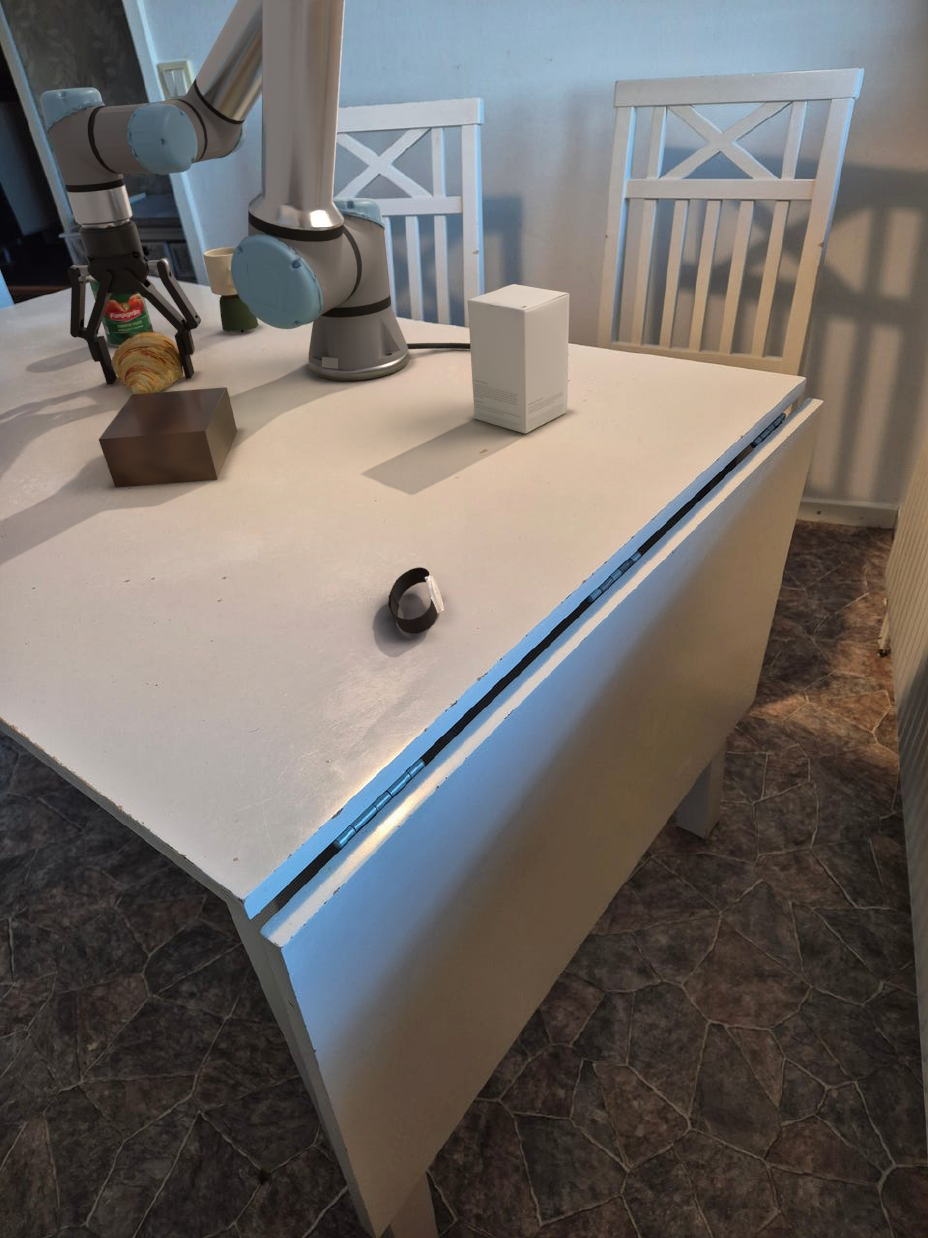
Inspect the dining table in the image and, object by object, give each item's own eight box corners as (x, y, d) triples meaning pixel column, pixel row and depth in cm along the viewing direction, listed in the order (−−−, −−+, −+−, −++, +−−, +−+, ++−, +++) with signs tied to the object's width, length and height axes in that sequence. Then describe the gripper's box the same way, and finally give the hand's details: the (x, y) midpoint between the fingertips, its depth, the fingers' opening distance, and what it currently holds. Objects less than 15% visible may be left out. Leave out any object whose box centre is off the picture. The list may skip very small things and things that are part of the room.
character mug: (267, 334, 140) (251, 254, 132) (225, 341, 138) (207, 260, 130) (256, 319, 148) (240, 242, 140) (216, 325, 146) (198, 248, 138)
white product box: (570, 412, 105) (573, 291, 96) (525, 435, 100) (524, 310, 91) (516, 397, 110) (514, 281, 101) (471, 418, 105) (465, 298, 96)
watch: (446, 637, 68) (443, 601, 66) (390, 642, 67) (385, 606, 65) (441, 586, 74) (438, 552, 72) (389, 590, 74) (385, 556, 72)
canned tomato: (137, 330, 146) (118, 266, 140) (164, 336, 142) (146, 270, 136) (99, 343, 141) (77, 276, 135) (126, 349, 137) (105, 281, 131)
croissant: (170, 424, 118) (184, 373, 114) (97, 400, 114) (108, 347, 110) (181, 373, 135) (194, 327, 131) (118, 351, 131) (128, 303, 127)
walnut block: (237, 431, 106) (227, 386, 102) (217, 479, 95) (205, 431, 91) (145, 438, 106) (132, 393, 102) (114, 487, 94) (98, 439, 91)
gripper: (197, 211, 114) (232, 364, 127) (29, 223, 114) (81, 375, 127) (186, 221, 108) (223, 381, 121) (8, 234, 108) (65, 393, 121)
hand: (151, 378), depth 124 cm, fingers open, 11 cm apart
